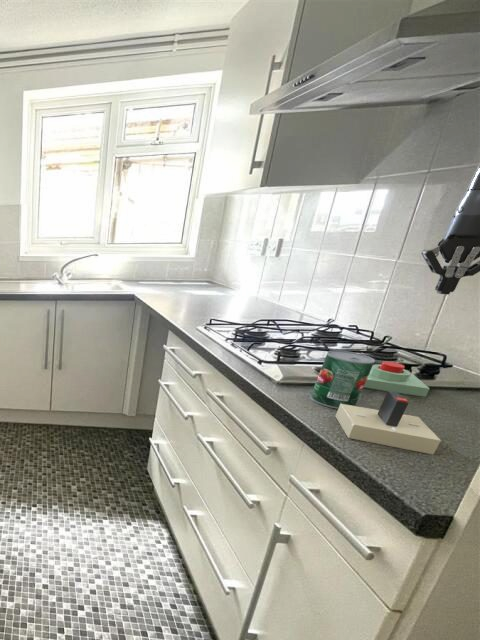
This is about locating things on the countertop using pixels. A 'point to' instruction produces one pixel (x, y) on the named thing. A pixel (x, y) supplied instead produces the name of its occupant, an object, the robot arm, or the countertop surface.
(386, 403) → the oven knob
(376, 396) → the countertop surface
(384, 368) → the button
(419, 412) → the countertop surface
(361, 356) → the canned tomato
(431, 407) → the countertop surface
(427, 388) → the button block
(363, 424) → the panel
